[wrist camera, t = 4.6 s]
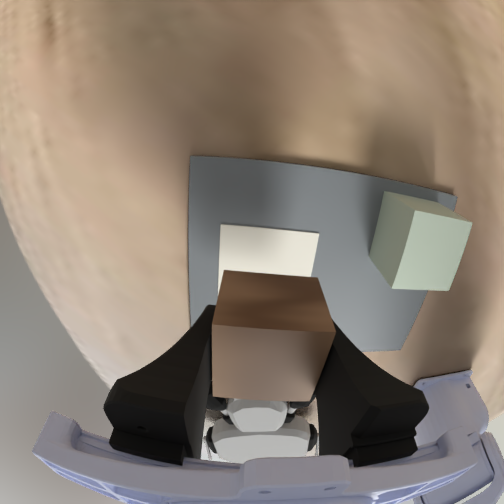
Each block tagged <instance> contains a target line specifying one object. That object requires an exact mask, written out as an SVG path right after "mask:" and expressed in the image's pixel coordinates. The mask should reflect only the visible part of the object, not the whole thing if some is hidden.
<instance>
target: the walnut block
mask: <svg viewBox="0 0 504 504" xmlns="http://www.w3.org/2000/svg"><path fill="white" fill-rule="evenodd" d="M335 334H336V330H335V327H334V324H333V321H332V318H331V315H330V312H329V309H328V306H327V303H326V300H325V297H324V294H323V291H322V288H321V285H320V282H319V279H318V277H305V276H292V275H280V274H267V273H255V272H244V271H232V270H224V272H223V276H222V280H221V285H220V289H219V294H218V299H217V303H216V308H215V312H214V317H213V322H212V385H213V397H223V398H233V399H246V400H263V401H310V399H311V397H312V394H313V392H314V390H315V387H316V385H317V382H318V380H319V377H320V375H321V372H322V369H323V367H324V364H325V361H326V359H327V356H328V353H329V351H330V348H331V345H332V342H333V339H334V336H335Z"/></svg>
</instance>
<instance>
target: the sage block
mask: <svg viewBox="0 0 504 504" xmlns="http://www.w3.org/2000/svg"><path fill="white" fill-rule="evenodd" d="M471 227H472V222H470V221H469V220H467V219H466V218H464V217H462V216H461V215H459V214H457V213H456V212H454V211H452V210H450V209H449V208H447V207H445V206H443V205H442V204H440V203H438V202H434V201H430V200H425V199H421V198H416V197H412V196H407V195H402V194H397V193H392V192H387V191H384V194H383V199H382V204H381V209H380V213H379V217H378V222H377V226H376V230H375V234H374V238H373V242H372V246H371V250H370V254H369V258H370V259H371V260H372V262H373V263H374V264H375V266H376V267H377V269H378V270H379V271H380V273H381V274H382V276H383V277H384V278H385V280H386V281H387V283H388V284H389V285H390V287H391V288H392V289H410V290H436V291H449V289H450V287H451V284H452V282H453V279H454V277H455V274H456V271H457V269H458V266H459V263H460V261H461V258H462V255H463V252H464V249H465V246H466V243H467V240H468V237H469V233H470V230H471Z"/></svg>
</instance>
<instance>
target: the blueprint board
mask: <svg viewBox="0 0 504 504" xmlns="http://www.w3.org/2000/svg"><path fill="white" fill-rule="evenodd" d="M384 191H387V192H392V193H397V194H402V195H407V196H412V197H416V198H421V199H425V200H430V201H434V202H438V203H440V204H442V205H443V206H445V207H447V208H449V209H450V210H452V211H454V209H455V205H456V201H457V196H455V195H452V194H448V193H445V192H441V191H437V190H433V189H429V188H425V187H421V186H417V185H413V184H409V183H404V182H400V181H395V180H391V179H386V178H381V177H376V176H371V175H366V174H360V173H355V172H349V171H343V170H337V169H330V168H324V167H317V166H310V165H302V164H294V163H286V162H277V161H267V160H257V159H245V158H231V157H215V156H193V155H192V156H190V174H189V223H188V242H189V292H190V316H191V326H192V325H193V324H194V323H195V322H196V320H197V319H198V318H199V316H200V315H201V314H202V312H203V311H204V309H205V307H206V306H207V305H208V304H210V305H216V303H217V299H218V294H219V289H220V285H221V280H222V276H223V272H224V270H232V271H244V272H255V273H267V274H280V275H292V276H305V277H318V279H319V282H320V285H321V288H322V291H323V294H324V297H325V300H326V303H327V306H328V309H329V312H330V315H331V318H332V319H333V321H334V322H335V323H336V324H337V326H338V327H339V328H340V329H341V330H342V332H343V333H344V334H345V335H346V336H347V337H348V338H349V340H350V341H351V342H352V343H353V344H354V345H355V346H356V347H357V348H358V349H359V350H360V351H361V352H371V351H394V350H401V348H402V346H403V344H404V342H405V340H406V338H407V336H408V334H409V332H410V330H411V328H412V326H413V324H414V321H415V319H416V317H417V315H418V313H419V310H420V308H421V306H422V303H423V301H424V299H425V296H426V294H427V291H428V290H410V289H392V288H391V287H390V285H389V284H388V283H387V281H386V280H385V278H384V277H383V276H382V274H381V273H380V271H379V270H378V269H377V267H376V266H375V264H374V263H373V262H372V260H371V259H370V258H369V254H370V250H371V246H372V242H373V238H374V234H375V230H376V226H377V222H378V217H379V213H380V209H381V204H382V199H383V194H384Z"/></svg>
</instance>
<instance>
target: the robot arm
mask: <svg viewBox="0 0 504 504" xmlns="http://www.w3.org/2000/svg"><path fill="white" fill-rule="evenodd" d="M215 308H216V305H210V304H208V305H207V306H206V307H205V309H204V311H203V312H202V314H201V315H200V316H199V318H198V319H197V320H196V322H195V323H194V324H193V325H192V326H191V328H190V329H189V330H188V331H187V332H186V333H185V334H184V335H183V337H182V338H181V339H180V340H179V341H178V342H177V343H176V344H174V345H173V346H172V347H171V348H170V349H169V350H168V351H166V352H165V353H164V354H163V355H161V356H160V357H159V358H157V359H156V360H154V361H153V362H151V363H150V364H148V365H146V366H145V367H143V368H141V369H140V370H138V371H136V372H134V373H132V374H129V375H127V376H125V377H122V378H120V379H117V381H116V382H115V384H114V385H113V387H112V389H111V390H110V392H109V394H108V397H107V399H106V401H105V404H104V411H105V413H106V416H107V417H108V419H109V420H110V422H111V424H112V426H113V427H114V429H113V432H112V435H111V437H110V439H107V438H105V437H102V436H99V435H96V434H93V433H90V432H87V431H85V430H82V429H81V427H80V425H79V424H78V423H77V422H76V421H75V420H73V419H71V418H69V417H67V416H64V415H62V414H60V413H57V412H55V411H51V413H50V415H49V417H48V419H47V421H46V423H45V425H44V427H43V429H42V431H41V433H40V435H39V437H38V439H37V441H36V443H35V445H34V448H33V450H32V452H33V453H34V454H35V455H36V456H37V457H38V458H39V459H40V460H41V461H43V462H44V463H45V464H46V465H47V466H48V467H50V468H51V469H52V470H53V471H55V472H56V473H57V474H59V475H61V476H63V477H65V478H67V479H69V480H71V481H73V482H75V483H77V484H80V485H82V486H84V487H87V488H89V489H91V490H93V491H96V492H98V493H101V494H103V495H105V496H108V497H110V498H113V499H116V500H118V501H121V502H124V503H127V504H399V503H402V502H405V501H407V500H410V499H413V501H414V504H454V503H456V502H458V501H460V500H462V499H464V498H466V497H467V496H469V495H471V494H472V493H474V492H476V491H477V490H479V489H481V488H482V487H484V486H485V485H487V484H489V483H490V482H492V483H491V485H490V486H489V487H488V488H487V489H486V490H484V491H483V492H481V493H480V494H478V495H476V496H475V497H473V498H471V499H470V500H468V501H466V502H464V503H462V504H496V502H497V501H498V499H499V498H500V496H501V495H502V493H503V492H504V459H503V456H502V454H501V451H500V449H499V447H498V445H497V443H496V440H495V439H494V437H493V435H492V434H491V433H489V432H488V433H487V432H485V430H486V429H487V426H488V421H489V415H488V410H487V407H486V405H485V404H484V402H483V400H482V398H481V396H480V394H479V393H478V391H477V389H476V387H475V386H474V384H473V382H472V380H471V379H470V376H471V374H472V373H473V372H472V370H467V371H463V372H458V373H453V374H448V375H443V376H437V377H431V378H425V379H420V380H418V381H417V382H416V384H415V385H414V387H412V386H410V385H408V384H406V383H404V382H402V381H400V380H399V379H397V378H395V377H393V376H392V375H390V374H389V373H387V372H386V371H384V370H383V369H381V368H380V367H379V366H377V365H376V364H375V363H374V362H372V361H371V360H370V359H369V358H368V357H366V356H365V355H364V354H363V353H362V352H361V351H360V350H359V349H358V348H357V347H356V346H355V345H354V344H353V343H352V342H351V341H350V340H349V338H348V337H347V336H346V335H345V334H344V333H343V332H342V330H341V329H340V328H339V327H338V326H337V324H336V323H335V322H334V321H333V319H332V321H333V324H334V327H335V330H336V334H335V336H334V339H333V342H332V345H331V348H330V351H329V353H328V356H327V359H326V361H325V364H324V367H323V369H322V372H321V375H320V377H319V380H318V382H317V385H316V387H315V394H316V399H317V408H318V422H319V456H308V457H266V458H255V459H251V460H247V461H246V462H245V463H243V464H240V463H227V462H217V461H208V460H201V459H200V458H201V448H202V438H203V429H204V421H205V413H206V405H207V398H208V393H209V388H210V384H211V380H212V322H213V317H214V312H215Z"/></svg>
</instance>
